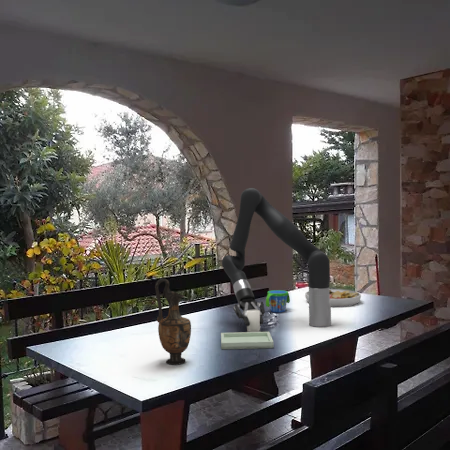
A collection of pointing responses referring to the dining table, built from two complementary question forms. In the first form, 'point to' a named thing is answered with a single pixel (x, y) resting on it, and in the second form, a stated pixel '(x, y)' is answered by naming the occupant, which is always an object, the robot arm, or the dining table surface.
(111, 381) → the dining table surface
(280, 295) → the snack cup
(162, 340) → the vase
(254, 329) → the white upright cylinder
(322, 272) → the robot arm
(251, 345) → the tray
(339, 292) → the plate of food
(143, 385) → the dining table surface
